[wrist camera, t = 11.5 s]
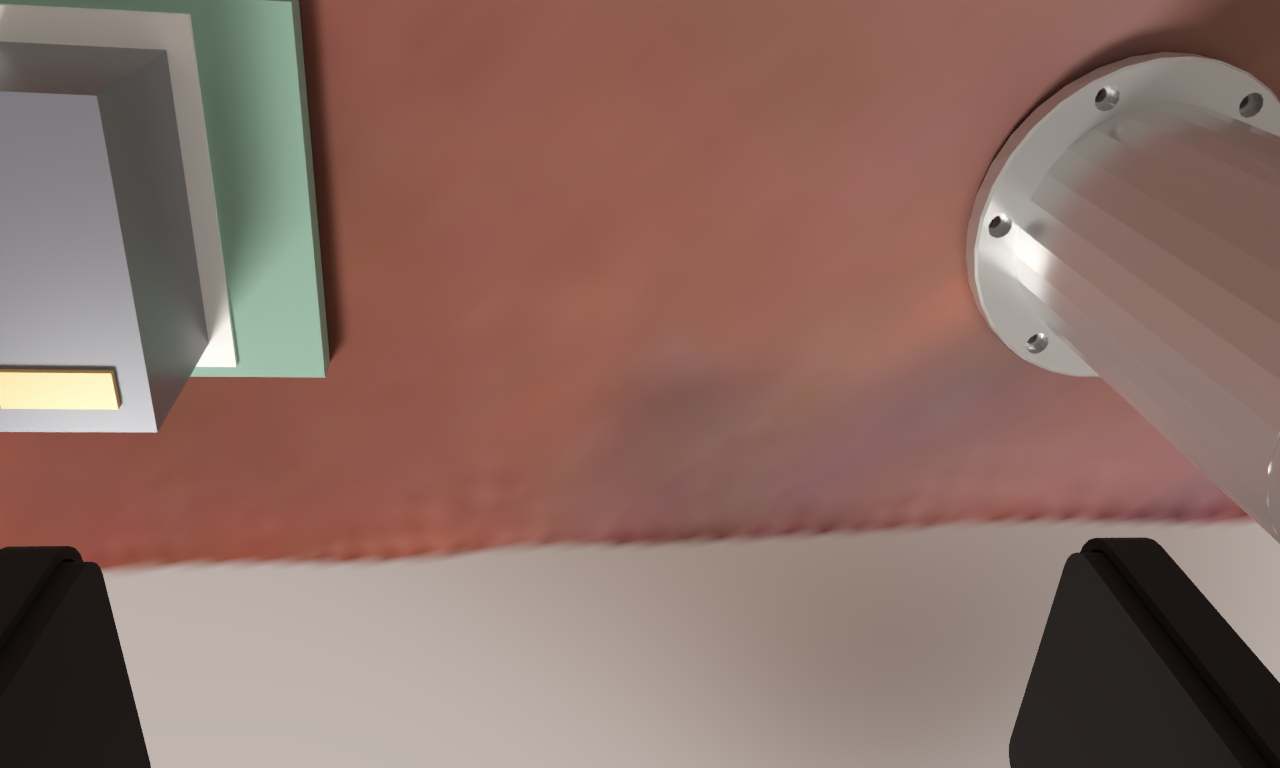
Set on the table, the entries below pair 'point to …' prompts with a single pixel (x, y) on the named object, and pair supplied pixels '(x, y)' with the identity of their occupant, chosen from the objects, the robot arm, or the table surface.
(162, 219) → the block
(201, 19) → the header board
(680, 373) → the table surface
